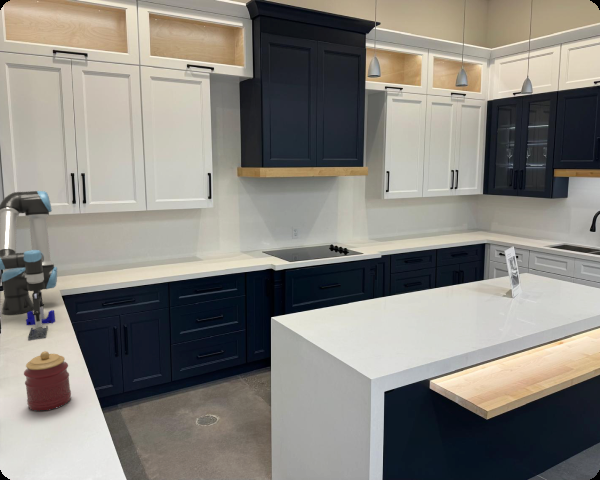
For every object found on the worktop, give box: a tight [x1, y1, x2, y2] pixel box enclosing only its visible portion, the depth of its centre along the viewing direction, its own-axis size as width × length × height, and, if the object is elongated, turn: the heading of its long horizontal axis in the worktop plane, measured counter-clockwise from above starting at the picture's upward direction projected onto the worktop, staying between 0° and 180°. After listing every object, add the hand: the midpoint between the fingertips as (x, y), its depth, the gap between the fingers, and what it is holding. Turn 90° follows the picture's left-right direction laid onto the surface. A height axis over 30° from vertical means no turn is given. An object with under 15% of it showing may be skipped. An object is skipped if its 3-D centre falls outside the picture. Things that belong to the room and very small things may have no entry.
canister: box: [23, 350, 72, 412], centre depth 164 cm, size 13×13×18 cm
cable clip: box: [25, 309, 56, 326], centre depth 250 cm, size 12×4×6 cm, turn 93°
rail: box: [27, 325, 49, 341], centre depth 234 cm, size 15×7×1 cm, turn 23°
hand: (40, 323), depth 249 cm, fingers open, 13 cm apart
